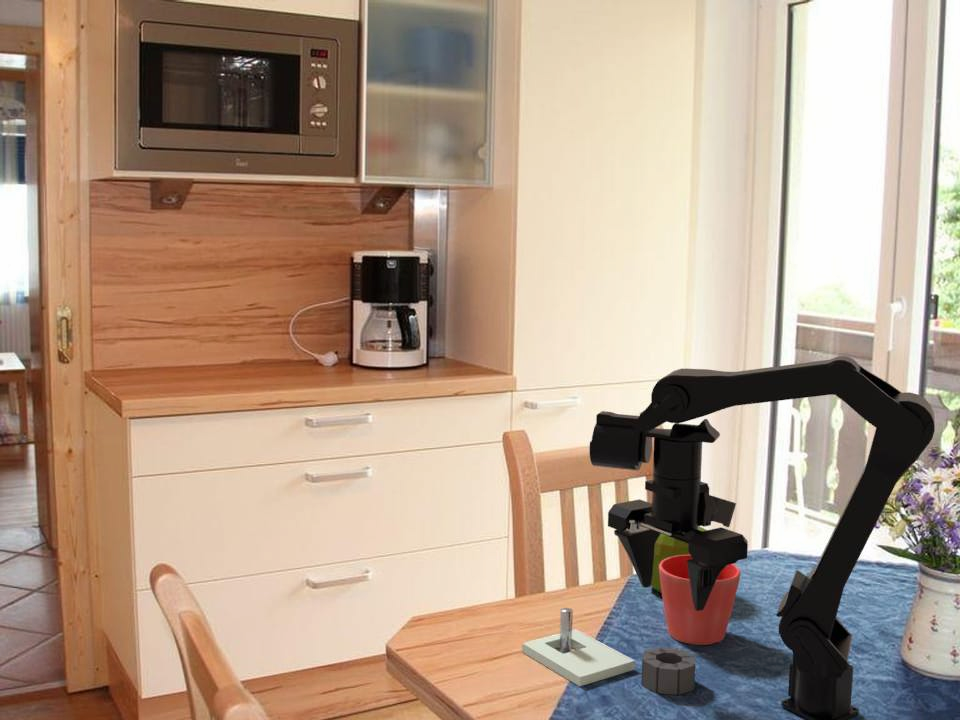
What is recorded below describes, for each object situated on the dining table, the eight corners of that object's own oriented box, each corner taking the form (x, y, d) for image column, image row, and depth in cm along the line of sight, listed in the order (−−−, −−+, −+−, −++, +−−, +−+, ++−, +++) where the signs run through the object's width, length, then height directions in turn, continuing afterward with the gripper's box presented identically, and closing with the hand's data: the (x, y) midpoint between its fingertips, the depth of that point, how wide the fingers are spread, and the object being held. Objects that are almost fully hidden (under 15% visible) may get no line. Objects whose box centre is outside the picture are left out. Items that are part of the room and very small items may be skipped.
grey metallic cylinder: (573, 654, 139) (575, 610, 139) (564, 657, 139) (565, 613, 138) (566, 650, 141) (567, 607, 140) (556, 652, 140) (558, 609, 139)
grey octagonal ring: (705, 686, 131) (706, 661, 130) (667, 698, 127) (668, 673, 127) (668, 667, 136) (669, 643, 136) (631, 678, 132) (632, 654, 132)
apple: (723, 586, 166) (726, 518, 164) (700, 608, 156) (703, 536, 155) (656, 572, 171) (658, 507, 170) (630, 593, 162) (632, 524, 160)
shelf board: (634, 669, 135) (635, 660, 135) (579, 686, 130) (579, 677, 130) (575, 637, 145) (575, 628, 145) (522, 651, 140) (522, 643, 140)
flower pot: (738, 653, 141) (742, 583, 139) (654, 645, 143) (657, 576, 141) (735, 623, 151) (739, 557, 149) (657, 616, 153) (660, 551, 152)
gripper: (783, 482, 125) (776, 609, 127) (671, 451, 140) (667, 565, 142) (715, 495, 118) (710, 629, 121) (606, 461, 134) (603, 580, 136)
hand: (672, 598), depth 130 cm, fingers open, 9 cm apart
